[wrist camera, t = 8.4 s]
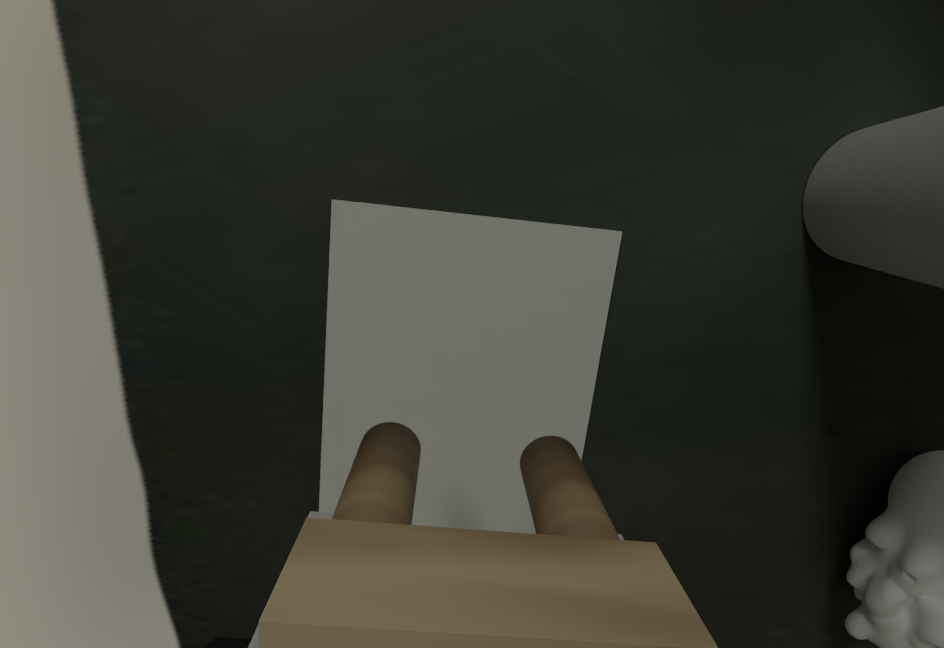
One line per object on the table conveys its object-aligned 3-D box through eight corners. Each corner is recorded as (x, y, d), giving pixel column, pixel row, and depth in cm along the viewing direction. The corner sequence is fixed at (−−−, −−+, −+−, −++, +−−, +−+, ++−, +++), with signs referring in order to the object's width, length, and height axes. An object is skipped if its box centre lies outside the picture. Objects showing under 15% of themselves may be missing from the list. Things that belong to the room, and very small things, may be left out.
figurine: (1065, 477, 26) (969, 670, 28) (904, 422, 31) (830, 593, 32) (1101, 506, 21) (979, 741, 23) (901, 435, 25) (813, 637, 27)
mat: (333, 199, 24) (331, 199, 24) (619, 231, 25) (622, 231, 24) (320, 526, 28) (318, 531, 28) (564, 544, 29) (565, 549, 29)
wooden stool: (355, 412, 15) (258, 621, 7) (590, 432, 15) (718, 648, 8) (343, 612, 16) (254, 944, 9) (555, 625, 17) (635, 954, 9)
